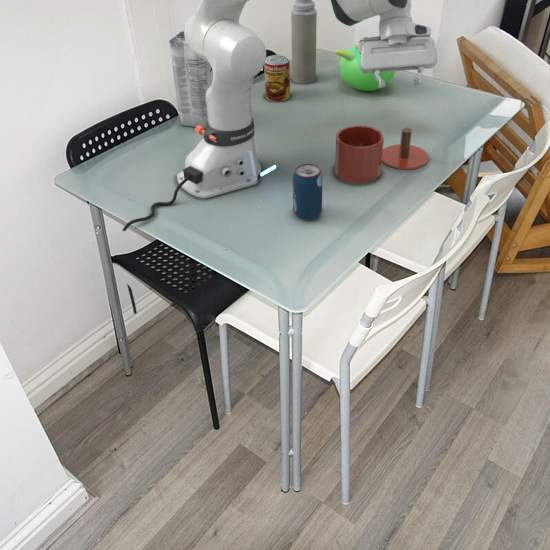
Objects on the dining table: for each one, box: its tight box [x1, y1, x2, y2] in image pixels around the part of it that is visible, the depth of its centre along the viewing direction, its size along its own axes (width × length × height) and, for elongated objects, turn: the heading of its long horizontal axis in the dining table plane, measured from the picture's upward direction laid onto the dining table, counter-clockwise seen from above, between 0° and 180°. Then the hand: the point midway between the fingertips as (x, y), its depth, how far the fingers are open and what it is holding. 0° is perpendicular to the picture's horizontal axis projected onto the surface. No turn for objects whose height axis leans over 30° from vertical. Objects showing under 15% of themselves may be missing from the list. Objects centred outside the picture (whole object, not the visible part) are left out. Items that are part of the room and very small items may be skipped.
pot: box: [334, 125, 385, 184], centre depth 159 cm, size 12×12×10 cm
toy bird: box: [334, 43, 396, 92], centre depth 198 cm, size 18×17×15 cm
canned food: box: [263, 54, 291, 103], centre depth 196 cm, size 8×8×12 cm
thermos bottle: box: [290, 0, 318, 85], centre depth 201 cm, size 8×8×28 cm
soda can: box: [292, 163, 324, 221], centre depth 145 cm, size 7×7×12 cm
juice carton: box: [168, 31, 213, 128], centre depth 179 cm, size 9×10×27 cm
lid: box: [381, 127, 429, 171], centre depth 164 cm, size 13×13×9 cm
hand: (399, 86), depth 166 cm, fingers open, 8 cm apart
